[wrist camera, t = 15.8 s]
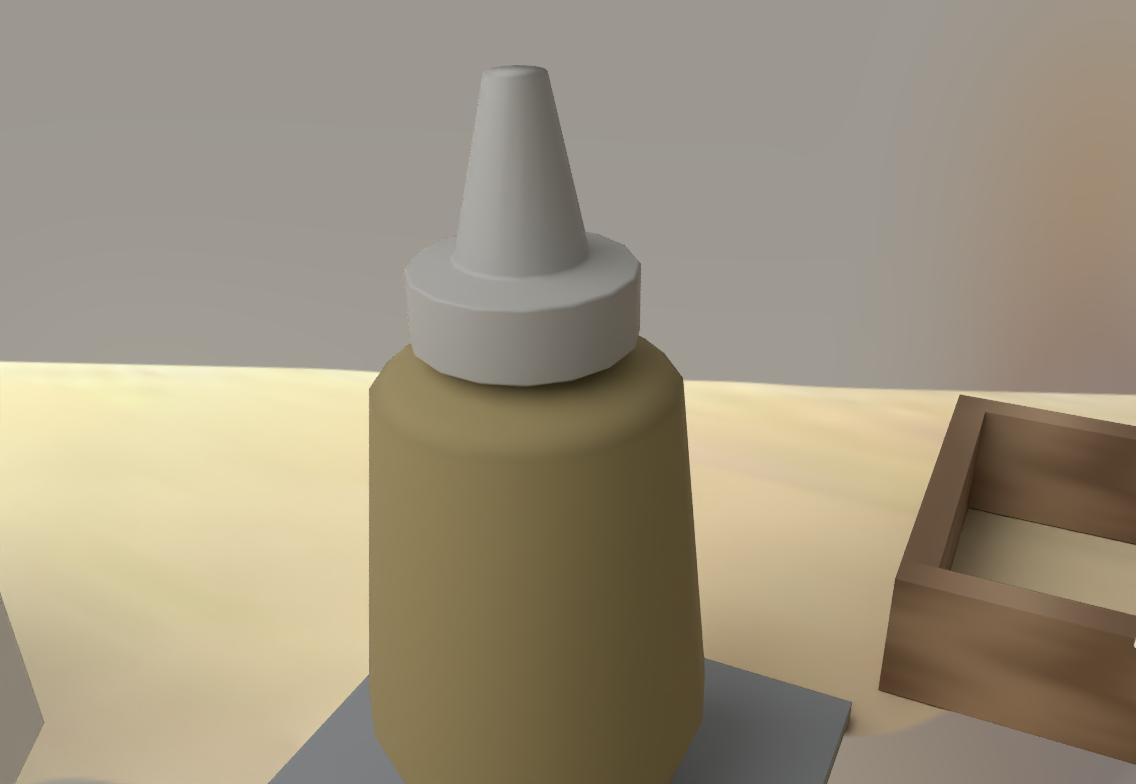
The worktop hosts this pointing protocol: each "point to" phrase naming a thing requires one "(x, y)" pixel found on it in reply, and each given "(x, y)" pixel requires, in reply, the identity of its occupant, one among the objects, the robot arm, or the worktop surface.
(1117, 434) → the holder
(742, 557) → the worktop surface
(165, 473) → the worktop surface
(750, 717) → the mat
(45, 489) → the worktop surface
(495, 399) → the squeeze bottle
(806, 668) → the worktop surface
